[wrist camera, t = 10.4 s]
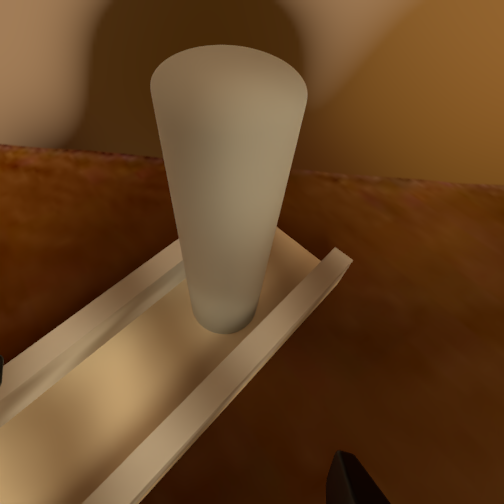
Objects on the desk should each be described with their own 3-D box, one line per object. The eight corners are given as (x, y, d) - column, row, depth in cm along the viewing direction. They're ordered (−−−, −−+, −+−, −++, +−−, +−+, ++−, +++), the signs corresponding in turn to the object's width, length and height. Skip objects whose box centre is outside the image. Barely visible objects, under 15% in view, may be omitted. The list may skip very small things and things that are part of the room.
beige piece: (224, 348, 17) (229, 161, 6) (178, 302, 18) (116, 77, 7) (270, 302, 18) (338, 91, 8) (225, 262, 19) (231, 31, 9)
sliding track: (18, 636, 12) (-38, 685, 9) (-69, 463, 14) (-133, 464, 12) (336, 284, 20) (353, 260, 18) (248, 215, 23) (252, 184, 20)
